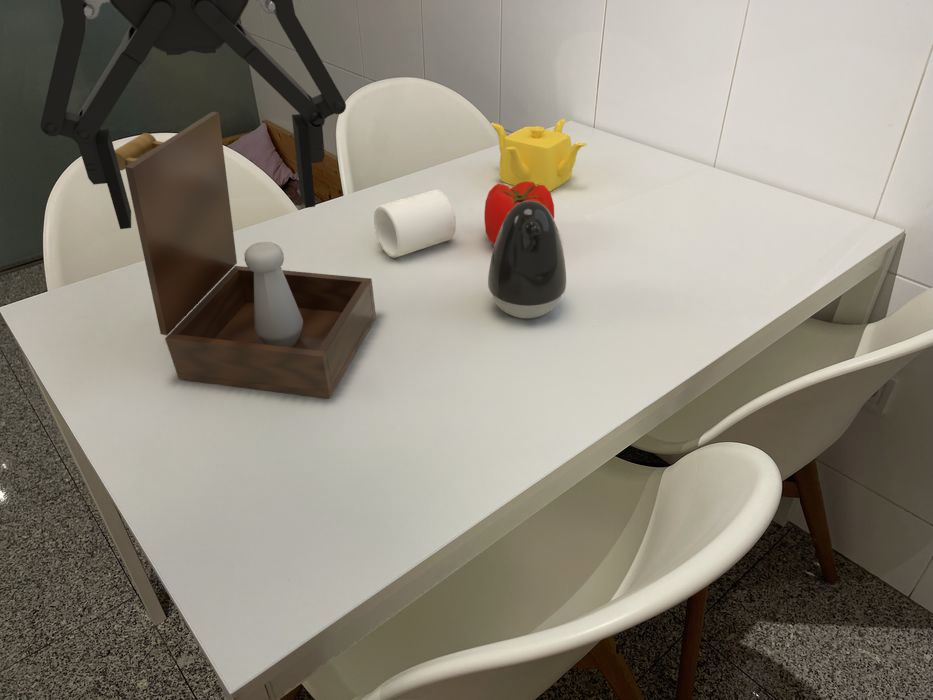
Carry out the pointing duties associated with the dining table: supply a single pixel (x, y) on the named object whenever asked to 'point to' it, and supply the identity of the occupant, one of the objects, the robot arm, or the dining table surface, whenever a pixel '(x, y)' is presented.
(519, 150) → the teapot
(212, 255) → the lid
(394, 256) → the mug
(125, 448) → the dining table surface
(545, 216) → the black tumbler egg
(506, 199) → the tomato
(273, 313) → the salt shaker
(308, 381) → the wooden box
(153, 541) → the dining table surface
